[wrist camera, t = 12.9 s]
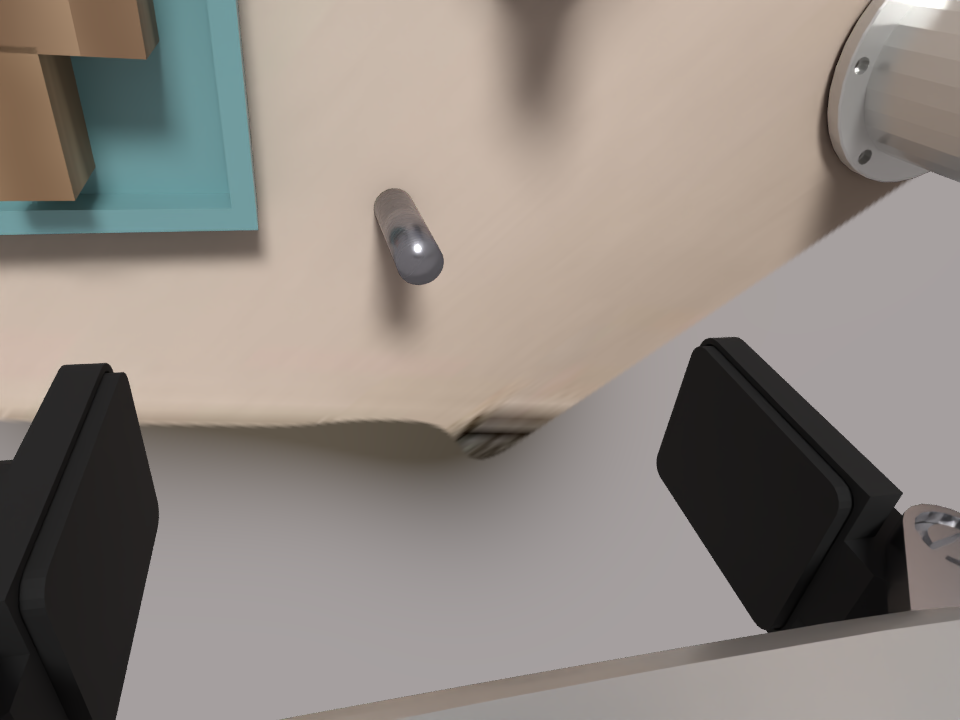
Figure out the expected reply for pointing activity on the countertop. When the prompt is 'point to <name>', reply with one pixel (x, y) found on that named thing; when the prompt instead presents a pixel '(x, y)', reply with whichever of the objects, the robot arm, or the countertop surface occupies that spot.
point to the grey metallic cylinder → (408, 237)
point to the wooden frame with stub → (57, 87)
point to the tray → (161, 135)
